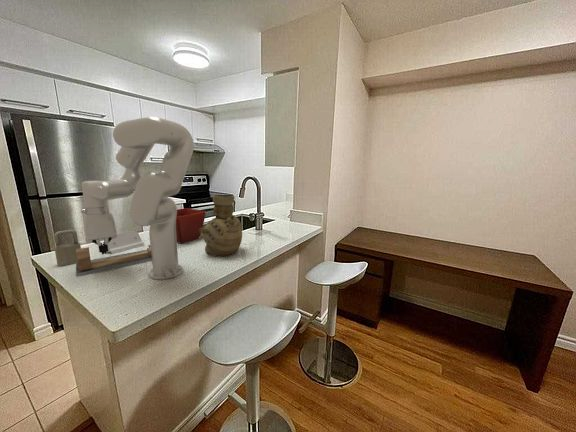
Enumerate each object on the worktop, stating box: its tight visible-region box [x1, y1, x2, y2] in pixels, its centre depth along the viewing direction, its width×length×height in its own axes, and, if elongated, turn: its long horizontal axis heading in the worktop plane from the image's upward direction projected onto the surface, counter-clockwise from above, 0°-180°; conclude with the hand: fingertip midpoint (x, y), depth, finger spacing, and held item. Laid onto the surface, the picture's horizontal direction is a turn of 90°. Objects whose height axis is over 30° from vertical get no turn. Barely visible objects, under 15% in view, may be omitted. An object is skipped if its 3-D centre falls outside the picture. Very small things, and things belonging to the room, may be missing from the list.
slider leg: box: [76, 246, 92, 271], centre depth 99 cm, size 9×4×8 cm, turn 41°
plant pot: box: [176, 207, 206, 244], centre depth 142 cm, size 19×19×17 cm
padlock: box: [53, 229, 82, 267], centre depth 105 cm, size 4×8×15 cm, turn 144°
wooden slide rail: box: [75, 249, 152, 277], centre depth 109 cm, size 14×32×1 cm, turn 131°
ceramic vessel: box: [199, 194, 243, 258], centre depth 120 cm, size 19×21×30 cm
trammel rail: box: [91, 244, 151, 268], centre depth 108 cm, size 9×30×3 cm, turn 131°
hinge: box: [107, 230, 145, 255], centre depth 126 cm, size 17×5×10 cm, turn 151°
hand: (104, 253), depth 102 cm, fingers closed
